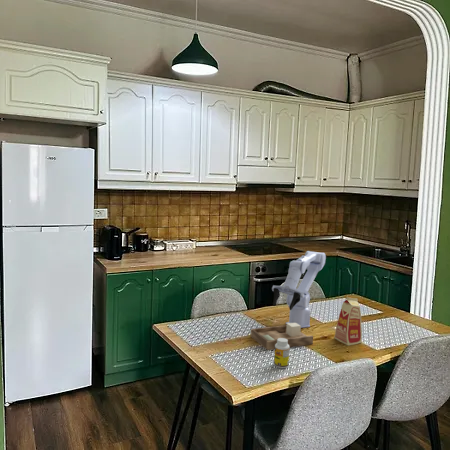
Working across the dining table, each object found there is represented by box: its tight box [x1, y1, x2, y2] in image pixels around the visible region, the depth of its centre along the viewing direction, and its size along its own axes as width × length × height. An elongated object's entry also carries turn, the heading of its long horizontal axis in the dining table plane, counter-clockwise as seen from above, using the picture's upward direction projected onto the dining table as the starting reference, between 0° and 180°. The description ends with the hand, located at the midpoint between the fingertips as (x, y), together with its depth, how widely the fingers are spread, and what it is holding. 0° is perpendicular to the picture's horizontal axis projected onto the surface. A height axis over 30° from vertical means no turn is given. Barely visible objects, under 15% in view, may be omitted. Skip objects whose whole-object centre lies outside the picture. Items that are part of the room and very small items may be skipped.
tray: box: [250, 324, 314, 351], centre depth 192 cm, size 22×16×4 cm
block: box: [286, 323, 302, 337], centre depth 194 cm, size 4×4×4 cm
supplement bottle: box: [273, 338, 291, 369], centre depth 165 cm, size 6×6×10 cm
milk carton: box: [333, 296, 363, 346], centre depth 194 cm, size 9×9×20 cm
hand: (281, 306), depth 194 cm, fingers open, 7 cm apart
